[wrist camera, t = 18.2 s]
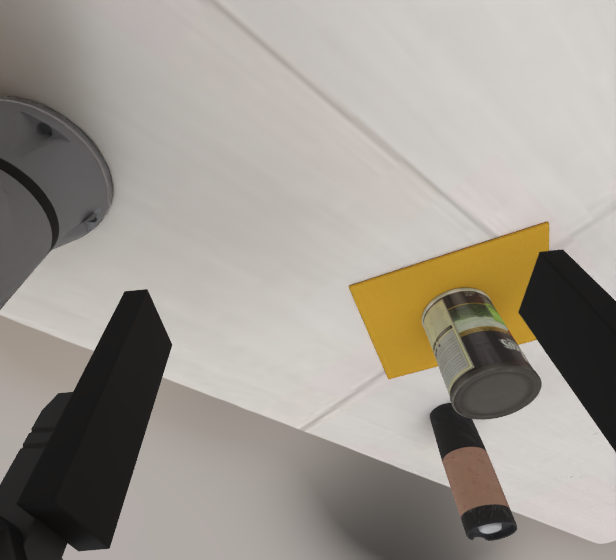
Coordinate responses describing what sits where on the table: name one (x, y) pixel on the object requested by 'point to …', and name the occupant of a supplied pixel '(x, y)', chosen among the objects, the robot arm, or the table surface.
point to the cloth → (441, 278)
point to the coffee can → (478, 355)
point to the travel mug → (471, 476)
